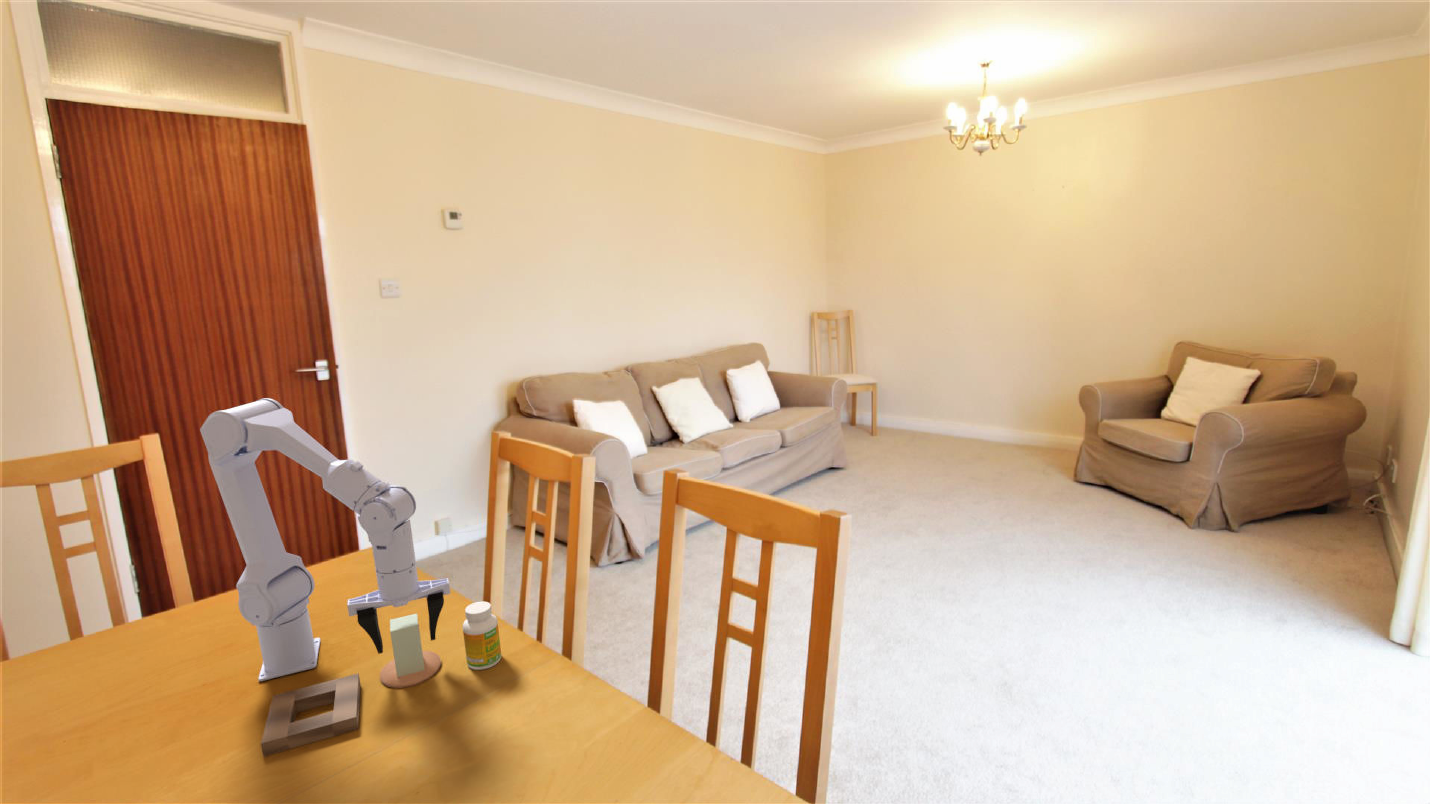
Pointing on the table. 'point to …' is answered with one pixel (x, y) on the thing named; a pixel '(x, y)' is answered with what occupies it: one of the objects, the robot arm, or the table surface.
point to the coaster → (430, 668)
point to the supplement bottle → (481, 636)
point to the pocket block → (292, 733)
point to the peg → (406, 645)
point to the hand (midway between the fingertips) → (407, 643)
